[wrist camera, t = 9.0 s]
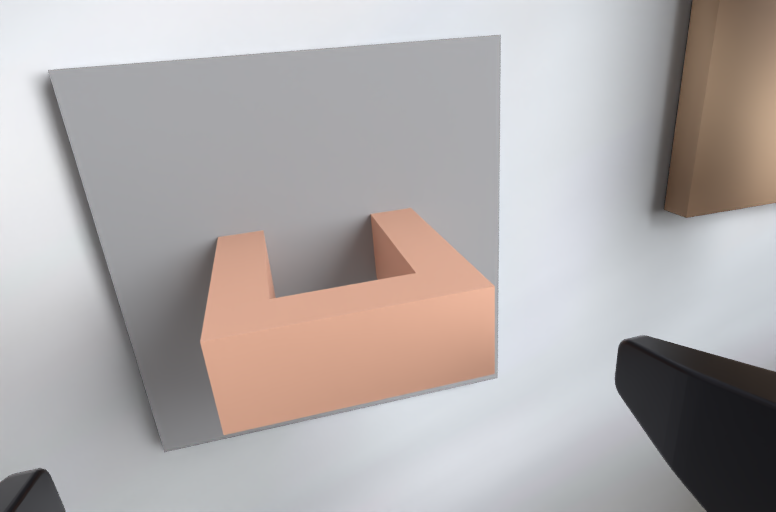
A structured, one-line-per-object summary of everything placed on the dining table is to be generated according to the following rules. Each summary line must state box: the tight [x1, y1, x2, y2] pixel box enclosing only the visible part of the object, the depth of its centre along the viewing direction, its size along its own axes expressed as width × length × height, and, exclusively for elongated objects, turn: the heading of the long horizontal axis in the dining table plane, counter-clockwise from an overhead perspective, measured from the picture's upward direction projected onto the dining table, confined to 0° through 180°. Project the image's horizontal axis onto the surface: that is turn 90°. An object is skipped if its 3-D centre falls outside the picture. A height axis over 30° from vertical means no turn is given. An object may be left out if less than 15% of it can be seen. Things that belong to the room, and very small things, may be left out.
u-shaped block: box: [200, 208, 495, 435], centre depth 12 cm, size 2×5×6 cm, turn 94°
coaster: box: [48, 35, 501, 452], centre depth 15 cm, size 11×11×1 cm
